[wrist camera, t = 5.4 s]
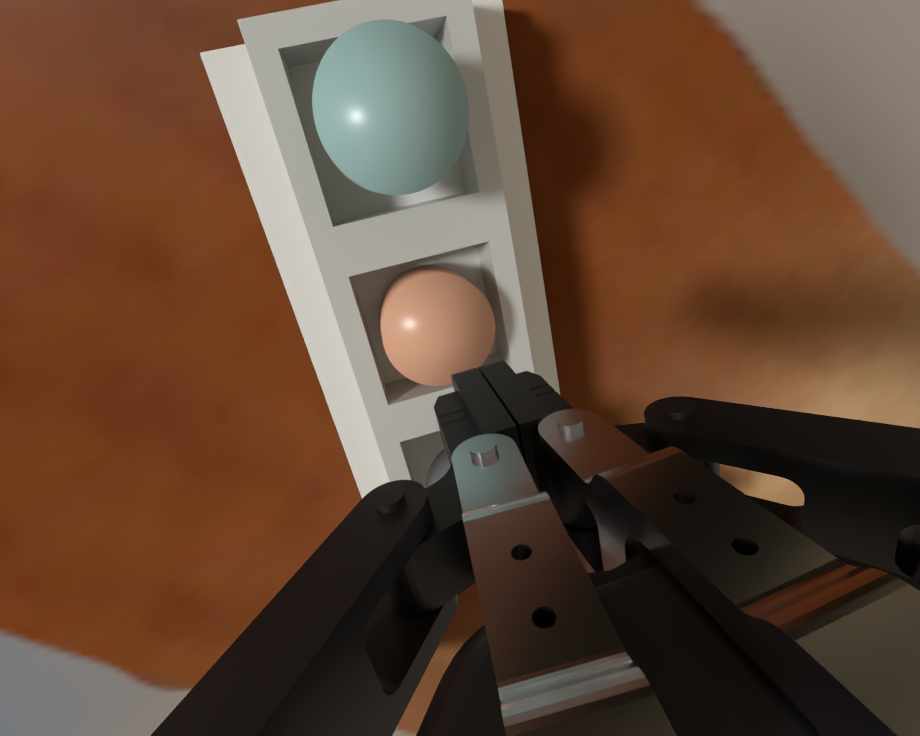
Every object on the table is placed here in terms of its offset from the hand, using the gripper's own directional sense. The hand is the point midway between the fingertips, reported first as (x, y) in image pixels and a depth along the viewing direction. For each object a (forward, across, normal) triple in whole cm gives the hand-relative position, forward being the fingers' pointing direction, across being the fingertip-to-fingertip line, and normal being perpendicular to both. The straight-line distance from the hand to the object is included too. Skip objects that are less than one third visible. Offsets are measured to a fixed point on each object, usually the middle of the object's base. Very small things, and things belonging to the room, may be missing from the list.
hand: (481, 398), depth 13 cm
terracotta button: (+10, 0, 0) cm, 10 cm away
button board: (+12, 0, 0) cm, 12 cm away
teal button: (+8, 0, -8) cm, 11 cm away
